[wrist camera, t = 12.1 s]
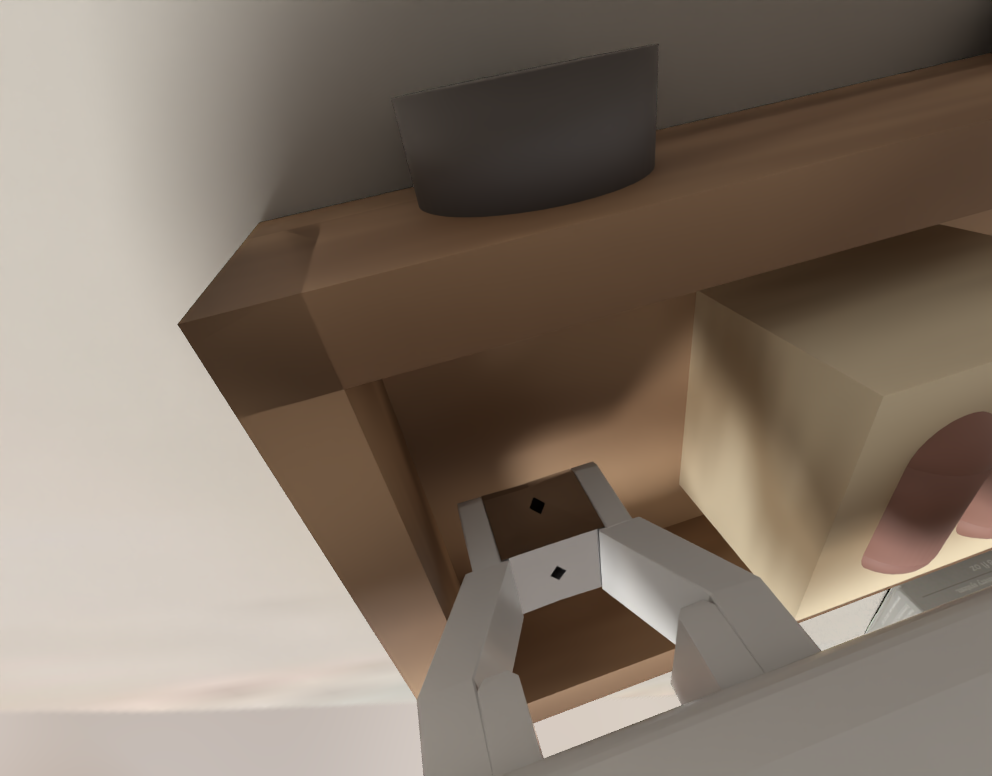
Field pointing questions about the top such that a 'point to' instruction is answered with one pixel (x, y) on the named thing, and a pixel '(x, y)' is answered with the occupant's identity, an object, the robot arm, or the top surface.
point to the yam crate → (847, 415)
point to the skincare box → (934, 590)
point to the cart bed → (550, 317)
